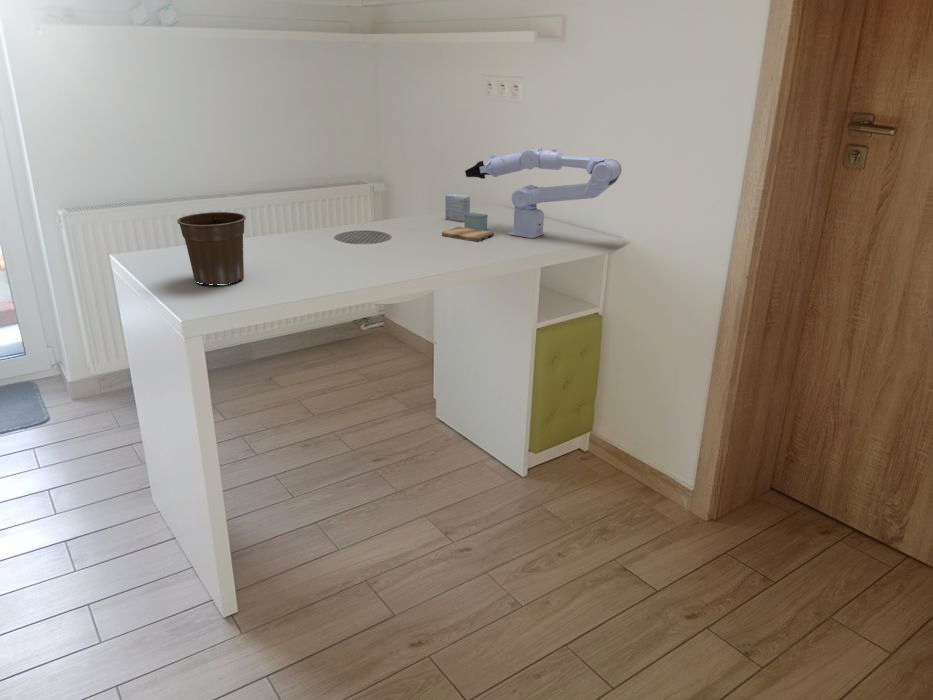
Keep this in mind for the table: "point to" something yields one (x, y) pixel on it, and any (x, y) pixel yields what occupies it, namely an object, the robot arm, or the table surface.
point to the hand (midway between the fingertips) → (471, 172)
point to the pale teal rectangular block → (475, 221)
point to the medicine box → (457, 207)
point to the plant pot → (215, 246)
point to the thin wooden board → (468, 233)
